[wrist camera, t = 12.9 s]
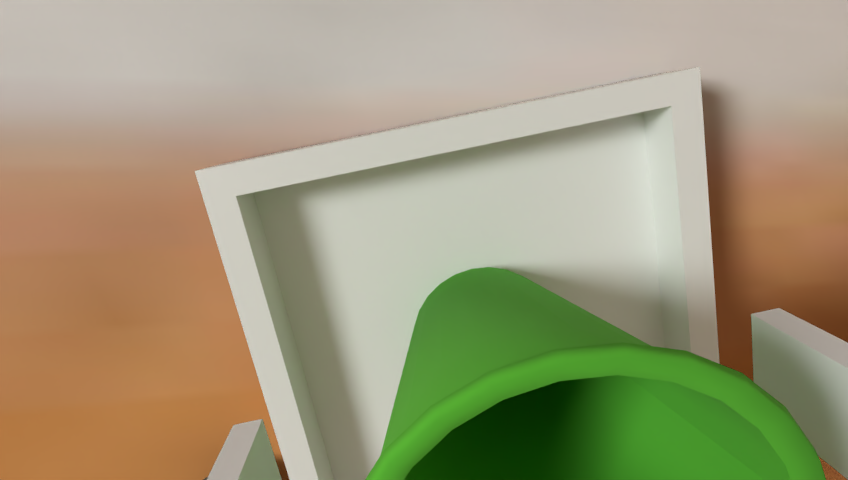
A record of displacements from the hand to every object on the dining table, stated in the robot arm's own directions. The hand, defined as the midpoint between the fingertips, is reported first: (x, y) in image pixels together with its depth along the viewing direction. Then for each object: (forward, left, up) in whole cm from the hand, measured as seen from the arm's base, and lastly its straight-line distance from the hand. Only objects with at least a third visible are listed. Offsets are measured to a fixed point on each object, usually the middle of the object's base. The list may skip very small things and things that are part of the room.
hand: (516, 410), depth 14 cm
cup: (0, 0, -6) cm, 6 cm away
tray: (0, 0, -7) cm, 7 cm away
